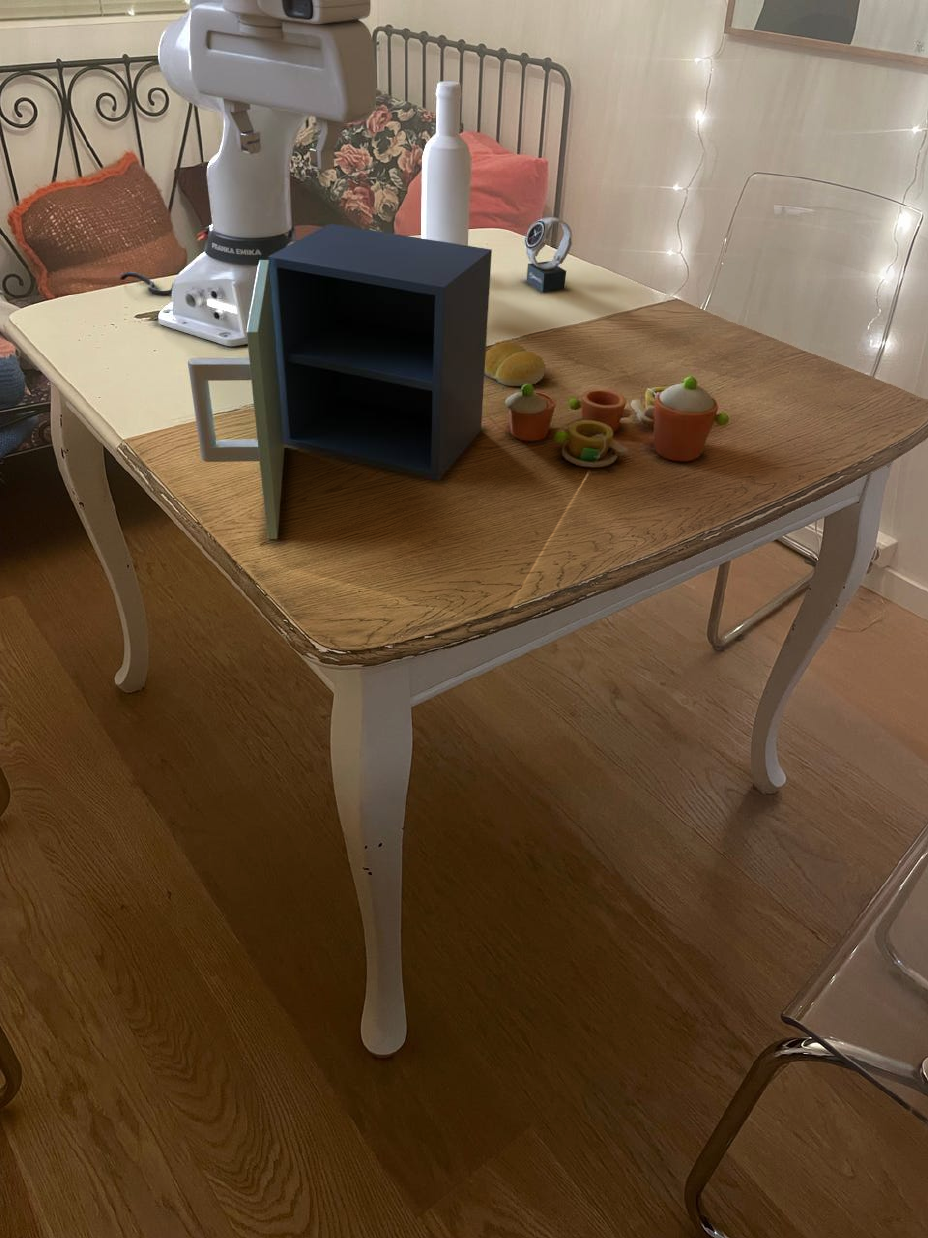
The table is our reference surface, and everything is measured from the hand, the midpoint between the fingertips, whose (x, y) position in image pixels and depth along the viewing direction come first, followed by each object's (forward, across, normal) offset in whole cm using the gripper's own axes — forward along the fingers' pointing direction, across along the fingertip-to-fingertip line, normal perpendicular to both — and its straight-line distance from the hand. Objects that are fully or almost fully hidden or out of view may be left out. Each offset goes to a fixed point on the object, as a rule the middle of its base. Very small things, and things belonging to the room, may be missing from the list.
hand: (285, 160), depth 90 cm
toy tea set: (+32, +26, +26) cm, 49 cm away
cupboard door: (+32, +1, -10) cm, 33 cm away
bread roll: (+33, +6, +36) cm, 49 cm away
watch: (+33, -10, +71) cm, 79 cm away
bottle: (+33, -24, +60) cm, 73 cm away
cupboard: (+32, +4, +9) cm, 34 cm away
